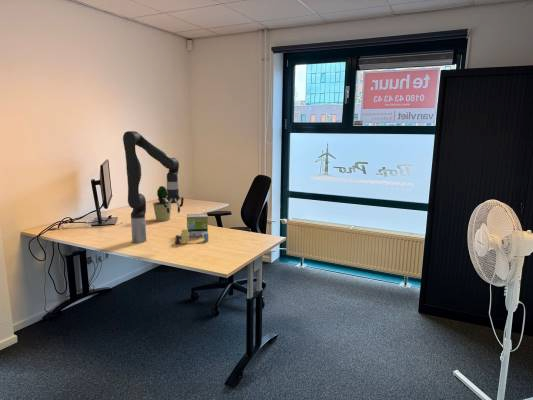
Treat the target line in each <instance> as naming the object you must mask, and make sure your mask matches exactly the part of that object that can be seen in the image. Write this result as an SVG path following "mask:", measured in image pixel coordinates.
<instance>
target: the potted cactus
mask: <svg viewBox="0 0 533 400" xmlns="http://www.w3.org/2000/svg"><path fill="white" fill-rule="evenodd" d="M156 197H157V200H158V201H156V202H155V201H154V202H153V203H152V206H153V211H154V214H155V215H154V216H155V220H156V221H157V222H168V220H169V221H170V220H171V215H172V214H171V212H172V205H173V203H171V204H170V206H169V213H167V208H166V207H164V204H163V198H167V187H166V186H163V185H160V186H158V188H157V190H156ZM168 202H169V201H167V200H166V201H165V204H166V205H168Z"/></svg>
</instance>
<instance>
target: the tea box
mask: <svg viewBox="0 0 533 400" xmlns="http://www.w3.org/2000/svg"><path fill="white" fill-rule="evenodd" d="M208 218H209V216H208V214H207V213H187V214H186V229H188V233H189V235H200V234H202V233H204V232H208V233H209V231H208V227H209V226H208V225H209V224H208V221H209V220H208Z"/></svg>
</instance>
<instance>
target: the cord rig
mask: <svg viewBox="0 0 533 400" xmlns="http://www.w3.org/2000/svg"><path fill="white" fill-rule="evenodd" d="M198 238H201V239H202V240H204V242H205V243H208V242H209V231H208V232H204V233H202V234H200V235H189V239H198ZM181 239H182V236H181V235H179V234H177V235H176V234H175V241H174V243H175V245H176V246H179V245H182V244H181V241H180V240H181Z"/></svg>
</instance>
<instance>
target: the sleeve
mask: <svg viewBox="0 0 533 400" xmlns="http://www.w3.org/2000/svg"><path fill="white" fill-rule="evenodd" d="M180 236H182V239H180V240H181V241H180V242H182V243H183V242H184V243H185V242H190V238H189V233H188V229H187V228H181V232H180Z"/></svg>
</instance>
